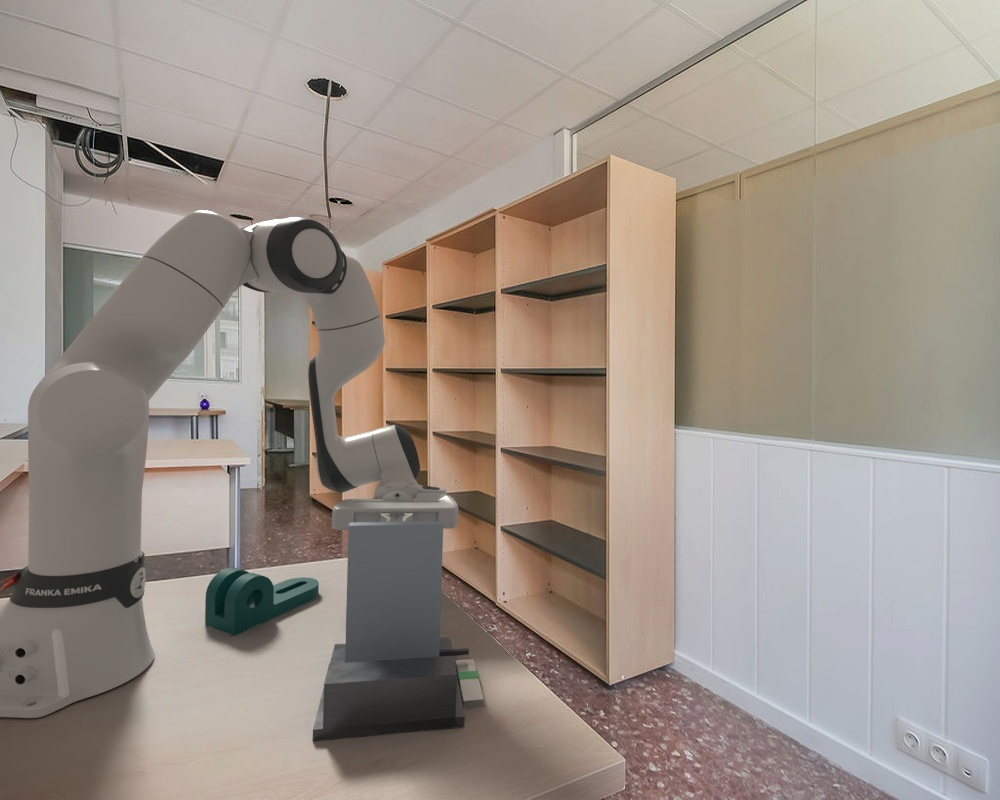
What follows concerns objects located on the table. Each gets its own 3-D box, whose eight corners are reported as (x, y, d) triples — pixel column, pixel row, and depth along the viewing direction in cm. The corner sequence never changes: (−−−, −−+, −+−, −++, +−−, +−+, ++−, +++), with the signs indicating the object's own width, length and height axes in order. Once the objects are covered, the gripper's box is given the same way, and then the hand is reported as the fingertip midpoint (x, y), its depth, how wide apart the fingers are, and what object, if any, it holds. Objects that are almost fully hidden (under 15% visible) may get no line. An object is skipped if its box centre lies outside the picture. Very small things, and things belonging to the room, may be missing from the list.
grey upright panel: (344, 665, 66) (348, 525, 66) (346, 659, 68) (349, 522, 67) (469, 657, 69) (473, 523, 69) (467, 651, 71) (472, 520, 70)
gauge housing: (312, 741, 54) (313, 684, 54) (334, 652, 72) (335, 610, 72) (488, 725, 58) (490, 672, 58) (468, 644, 75) (469, 604, 75)
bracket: (234, 637, 76) (235, 584, 76) (205, 626, 79) (205, 575, 79) (326, 594, 92) (327, 550, 92) (299, 587, 95) (300, 544, 95)
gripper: (336, 488, 90) (325, 506, 76) (454, 488, 94) (463, 505, 80) (335, 524, 90) (324, 549, 77) (452, 522, 94) (461, 546, 81)
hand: (396, 527), depth 79 cm, fingers closed
